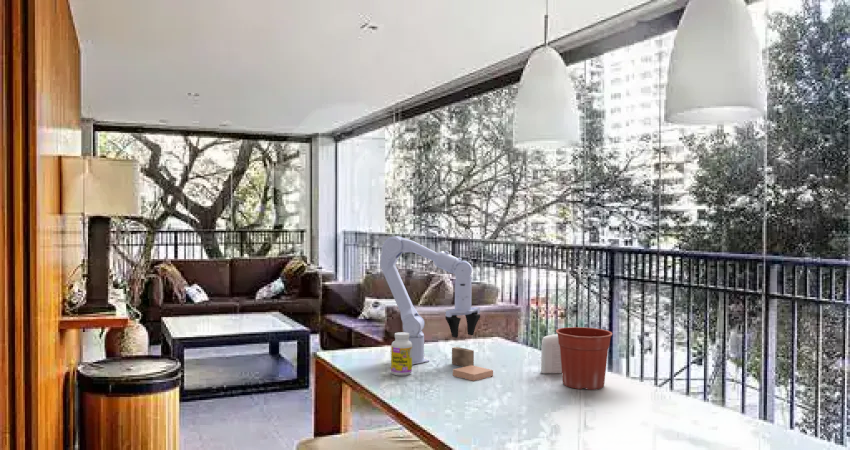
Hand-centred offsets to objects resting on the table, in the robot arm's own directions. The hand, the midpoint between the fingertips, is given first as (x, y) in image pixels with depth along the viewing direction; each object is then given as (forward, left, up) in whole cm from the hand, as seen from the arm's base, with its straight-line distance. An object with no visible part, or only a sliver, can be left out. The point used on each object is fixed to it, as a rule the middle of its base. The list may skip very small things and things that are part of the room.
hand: (462, 336), depth 224 cm
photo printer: (+29, +14, -10) cm, 34 cm away
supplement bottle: (-2, -25, -10) cm, 27 cm away
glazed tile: (+10, -10, -9) cm, 17 cm away
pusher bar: (+2, -2, -10) cm, 10 cm away
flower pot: (+44, +7, -10) cm, 46 cm away
